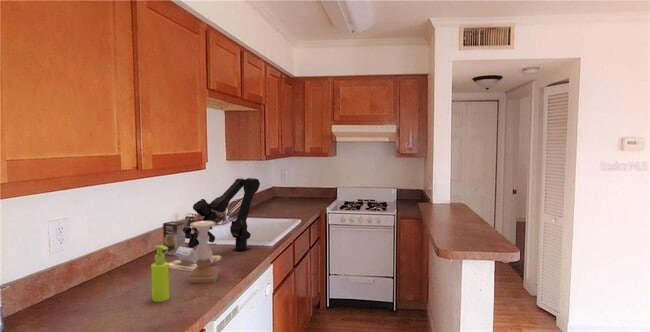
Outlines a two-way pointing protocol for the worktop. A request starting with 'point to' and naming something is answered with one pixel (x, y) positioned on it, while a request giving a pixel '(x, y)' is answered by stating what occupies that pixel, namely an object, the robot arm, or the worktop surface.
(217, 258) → the pocket board
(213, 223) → the candle holder
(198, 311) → the worktop surface
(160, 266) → the soap dispenser
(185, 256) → the medicine box
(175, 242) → the coffee box
